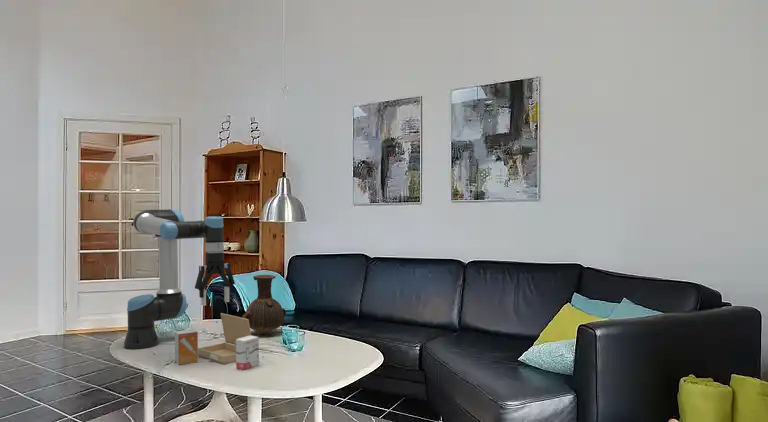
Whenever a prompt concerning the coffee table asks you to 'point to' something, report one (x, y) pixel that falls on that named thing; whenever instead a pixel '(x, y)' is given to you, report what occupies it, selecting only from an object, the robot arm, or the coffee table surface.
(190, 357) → the small box
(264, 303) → the vase
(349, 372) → the coffee table surface
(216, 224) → the robot arm
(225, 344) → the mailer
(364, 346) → the coffee table surface
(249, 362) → the ink box
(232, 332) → the lid
